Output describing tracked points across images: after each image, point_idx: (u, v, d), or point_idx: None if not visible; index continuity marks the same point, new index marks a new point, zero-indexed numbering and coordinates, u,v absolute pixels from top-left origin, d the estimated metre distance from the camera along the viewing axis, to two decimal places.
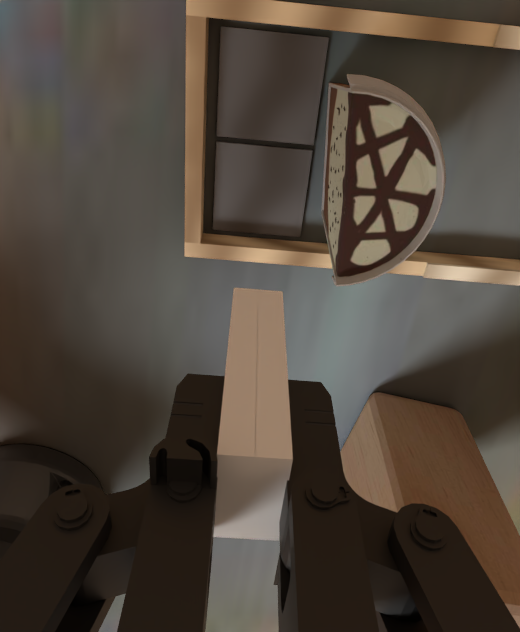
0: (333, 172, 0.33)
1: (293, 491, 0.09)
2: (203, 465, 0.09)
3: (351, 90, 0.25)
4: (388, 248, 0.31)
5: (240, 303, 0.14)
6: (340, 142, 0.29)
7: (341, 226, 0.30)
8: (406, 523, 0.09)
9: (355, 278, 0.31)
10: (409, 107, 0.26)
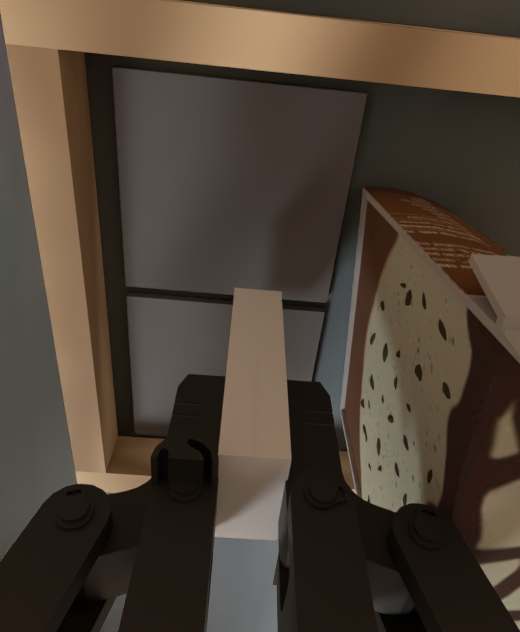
0: (380, 402, 0.14)
1: (292, 491, 0.09)
2: (204, 465, 0.09)
3: (511, 346, 0.07)
4: None
5: (241, 303, 0.14)
6: (415, 385, 0.11)
7: None
8: (405, 523, 0.09)
9: None
10: None
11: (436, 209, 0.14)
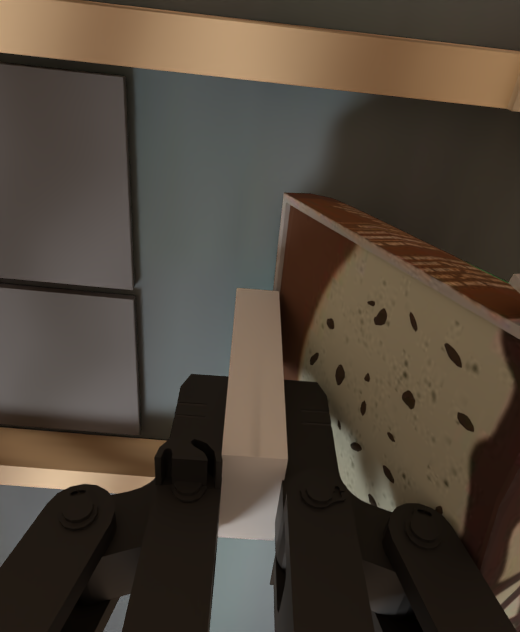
0: (334, 428, 0.13)
1: (288, 491, 0.09)
2: (207, 465, 0.09)
3: None
4: None
5: (243, 303, 0.14)
6: (401, 413, 0.10)
7: None
8: (401, 523, 0.09)
9: None
10: None
11: (368, 215, 0.13)
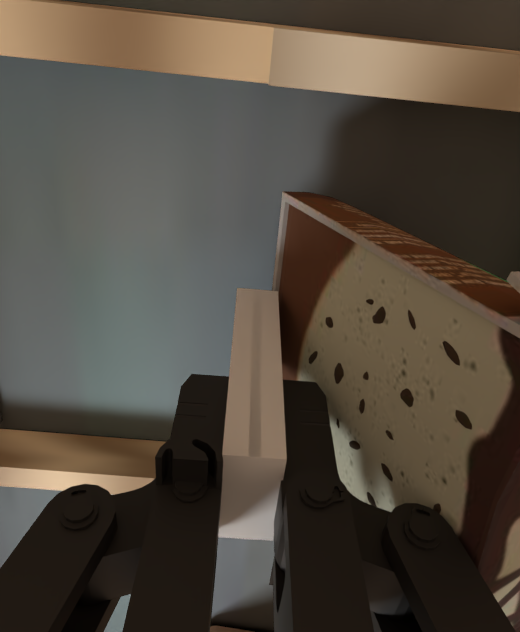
0: (333, 426, 0.13)
1: (287, 491, 0.09)
2: (208, 465, 0.09)
3: None
4: None
5: (243, 303, 0.14)
6: (400, 411, 0.10)
7: None
8: (399, 523, 0.09)
9: None
10: None
11: (367, 214, 0.13)
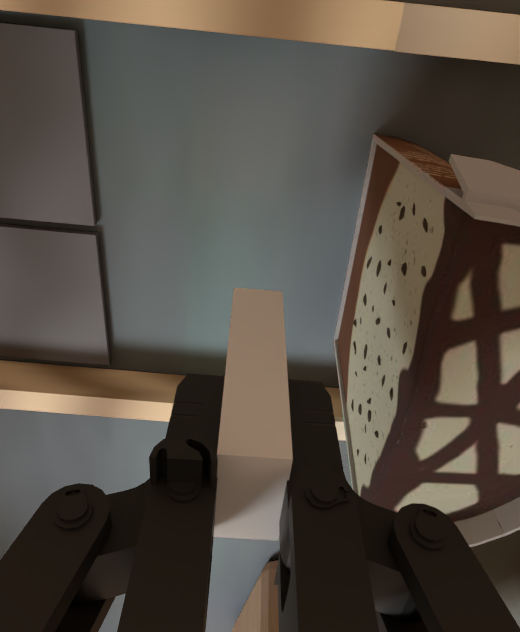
0: (370, 313, 0.17)
1: (293, 491, 0.09)
2: (203, 464, 0.09)
3: (470, 209, 0.09)
4: (475, 498, 0.15)
5: (240, 303, 0.14)
6: (400, 282, 0.14)
7: (386, 457, 0.14)
8: (406, 523, 0.09)
9: None
10: None
11: None
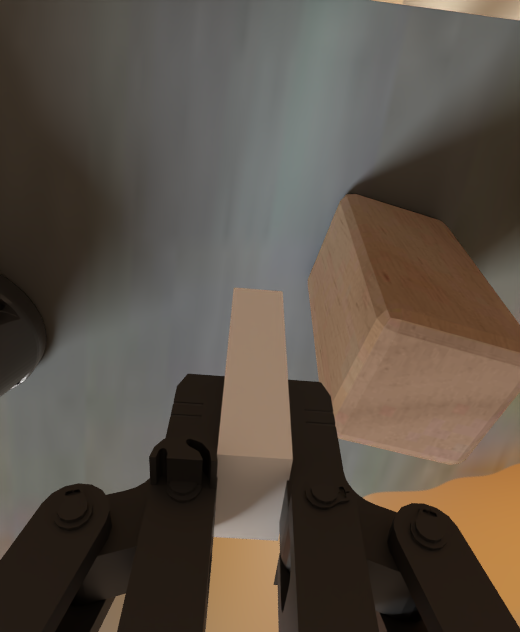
0: None
1: (293, 491, 0.09)
2: (203, 464, 0.09)
3: None
4: None
5: (240, 303, 0.14)
6: None
7: None
8: (406, 523, 0.09)
9: None
10: None
11: None
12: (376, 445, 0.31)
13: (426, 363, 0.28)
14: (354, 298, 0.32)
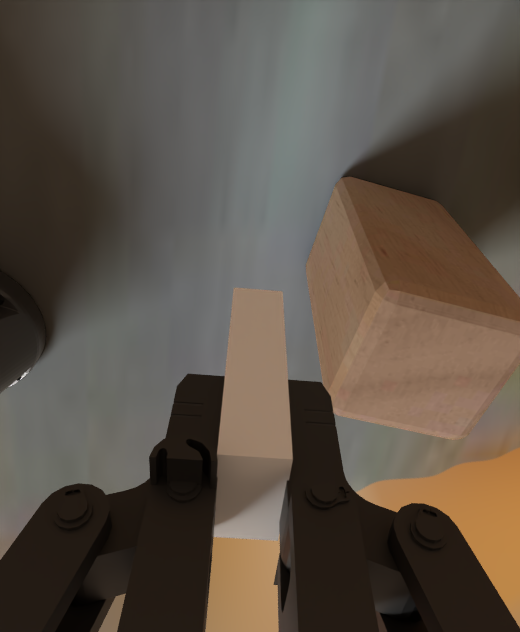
0: None
1: (293, 491, 0.09)
2: (202, 465, 0.09)
3: None
4: None
5: (240, 303, 0.14)
6: None
7: None
8: (406, 523, 0.09)
9: None
10: None
11: None
12: (379, 422, 0.31)
13: (426, 335, 0.27)
14: (353, 275, 0.32)
